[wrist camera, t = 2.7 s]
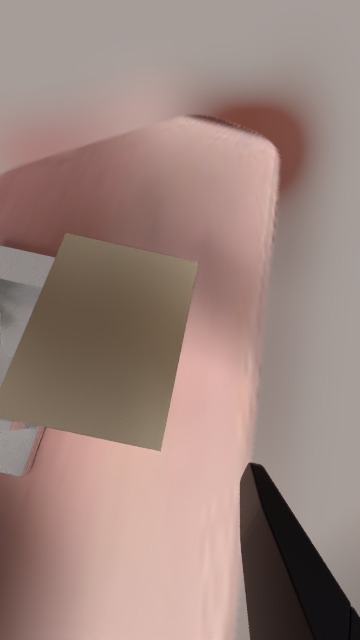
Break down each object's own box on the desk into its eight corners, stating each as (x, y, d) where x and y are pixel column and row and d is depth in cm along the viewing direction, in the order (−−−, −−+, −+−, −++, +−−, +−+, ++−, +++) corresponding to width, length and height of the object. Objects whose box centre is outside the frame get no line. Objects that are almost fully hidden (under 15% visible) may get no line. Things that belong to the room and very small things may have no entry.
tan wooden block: (157, 426, 18) (160, 451, 5) (104, 415, 18) (-13, 415, 5) (171, 359, 19) (198, 262, 7) (123, 349, 19) (66, 232, 7)
